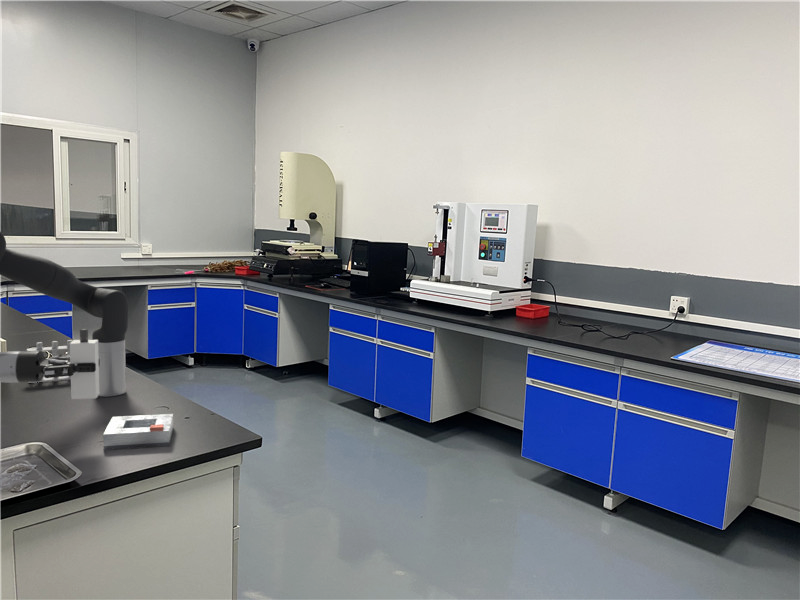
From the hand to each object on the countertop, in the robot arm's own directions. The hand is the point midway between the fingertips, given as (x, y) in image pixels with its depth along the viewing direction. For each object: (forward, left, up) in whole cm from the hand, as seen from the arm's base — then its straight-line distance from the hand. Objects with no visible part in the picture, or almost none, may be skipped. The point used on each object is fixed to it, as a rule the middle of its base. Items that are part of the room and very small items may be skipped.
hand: (97, 364), depth 148 cm
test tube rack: (-62, -20, -20) cm, 68 cm away
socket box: (0, +10, -20) cm, 22 cm away
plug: (0, -3, -8) cm, 8 cm away
